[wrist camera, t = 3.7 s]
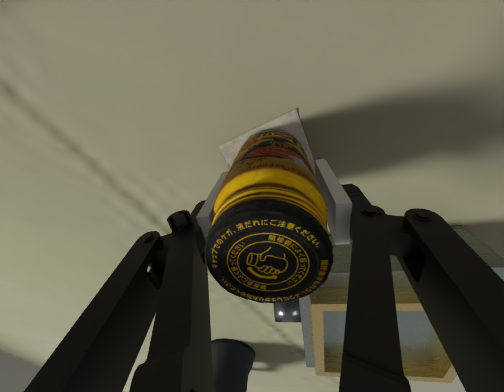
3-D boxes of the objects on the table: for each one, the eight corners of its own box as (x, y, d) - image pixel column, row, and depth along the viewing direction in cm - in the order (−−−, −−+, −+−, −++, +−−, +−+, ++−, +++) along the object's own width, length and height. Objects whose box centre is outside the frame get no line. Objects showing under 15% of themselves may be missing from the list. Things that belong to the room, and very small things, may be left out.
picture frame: (265, 238, 23) (261, 290, 17) (461, 225, 19) (536, 284, 14) (282, 326, 31) (283, 380, 26) (420, 328, 28) (456, 390, 22)
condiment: (295, 108, 16) (332, 159, 5) (326, 194, 19) (383, 326, 9) (217, 145, 18) (138, 233, 8) (257, 217, 21) (240, 344, 11)
